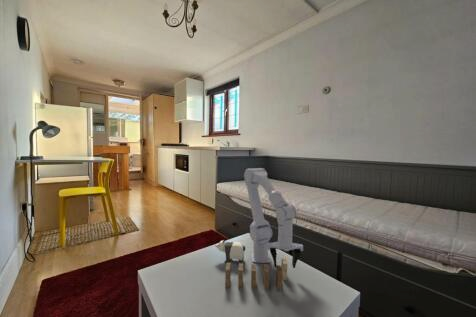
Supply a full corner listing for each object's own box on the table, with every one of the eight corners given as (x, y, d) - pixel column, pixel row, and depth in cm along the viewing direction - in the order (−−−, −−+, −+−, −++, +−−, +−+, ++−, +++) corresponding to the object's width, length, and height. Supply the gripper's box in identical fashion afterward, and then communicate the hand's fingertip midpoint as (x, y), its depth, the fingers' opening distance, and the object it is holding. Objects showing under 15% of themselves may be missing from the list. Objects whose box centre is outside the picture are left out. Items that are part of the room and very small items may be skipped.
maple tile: (281, 273, 86) (281, 257, 85) (284, 273, 85) (285, 257, 85) (282, 279, 81) (283, 263, 81) (286, 280, 81) (287, 263, 81)
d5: (276, 282, 80) (276, 265, 79) (280, 282, 80) (280, 265, 79) (277, 289, 75) (278, 272, 75) (281, 290, 75) (282, 272, 75)
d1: (226, 279, 81) (226, 262, 80) (230, 279, 81) (230, 262, 80) (225, 287, 76) (225, 269, 76) (229, 287, 76) (229, 269, 76)
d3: (251, 280, 80) (251, 263, 80) (255, 281, 80) (255, 264, 80) (251, 288, 76) (251, 270, 75) (255, 288, 76) (255, 270, 75)
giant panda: (246, 259, 96) (246, 239, 95) (244, 265, 90) (244, 245, 90) (217, 255, 99) (217, 236, 98) (213, 261, 93) (213, 241, 93)
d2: (238, 280, 80) (239, 263, 80) (242, 280, 80) (243, 263, 80) (238, 287, 76) (238, 270, 76) (242, 287, 76) (242, 270, 76)
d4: (263, 281, 80) (263, 264, 80) (267, 281, 80) (267, 264, 80) (264, 289, 76) (264, 271, 75) (268, 289, 76) (269, 271, 75)
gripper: (268, 237, 79) (267, 271, 79) (305, 239, 78) (304, 272, 79) (266, 230, 86) (266, 261, 86) (300, 231, 85) (300, 262, 86)
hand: (284, 266), depth 83 cm, fingers open, 7 cm apart
